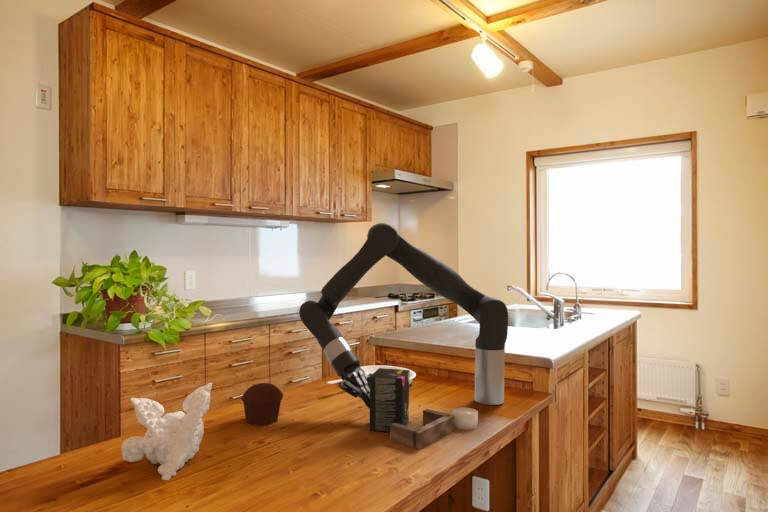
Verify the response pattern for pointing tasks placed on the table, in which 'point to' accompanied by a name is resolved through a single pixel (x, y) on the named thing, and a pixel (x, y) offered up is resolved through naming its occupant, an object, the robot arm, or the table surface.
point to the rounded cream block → (465, 418)
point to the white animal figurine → (168, 432)
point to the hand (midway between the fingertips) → (372, 406)
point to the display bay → (424, 429)
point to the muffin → (262, 404)
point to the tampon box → (389, 398)
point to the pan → (373, 368)
